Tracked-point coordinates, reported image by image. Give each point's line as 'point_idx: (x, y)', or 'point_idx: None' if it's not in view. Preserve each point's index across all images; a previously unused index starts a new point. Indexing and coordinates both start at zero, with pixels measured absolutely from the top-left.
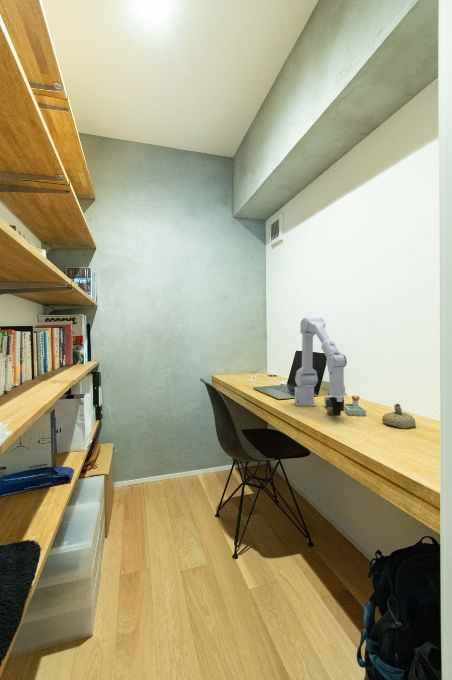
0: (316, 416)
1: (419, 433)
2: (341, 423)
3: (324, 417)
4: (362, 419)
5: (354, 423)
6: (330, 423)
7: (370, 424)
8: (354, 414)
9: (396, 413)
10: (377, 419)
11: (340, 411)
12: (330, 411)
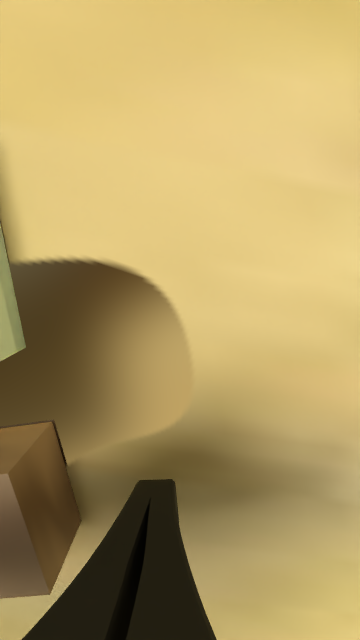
0: None
1: None
2: (339, 455)
3: None
4: (147, 216)
5: (327, 334)
6: (347, 540)
7: (354, 157)
8: (2, 284)
9: None
10: (102, 3)
11: (26, 456)
12: (58, 552)
